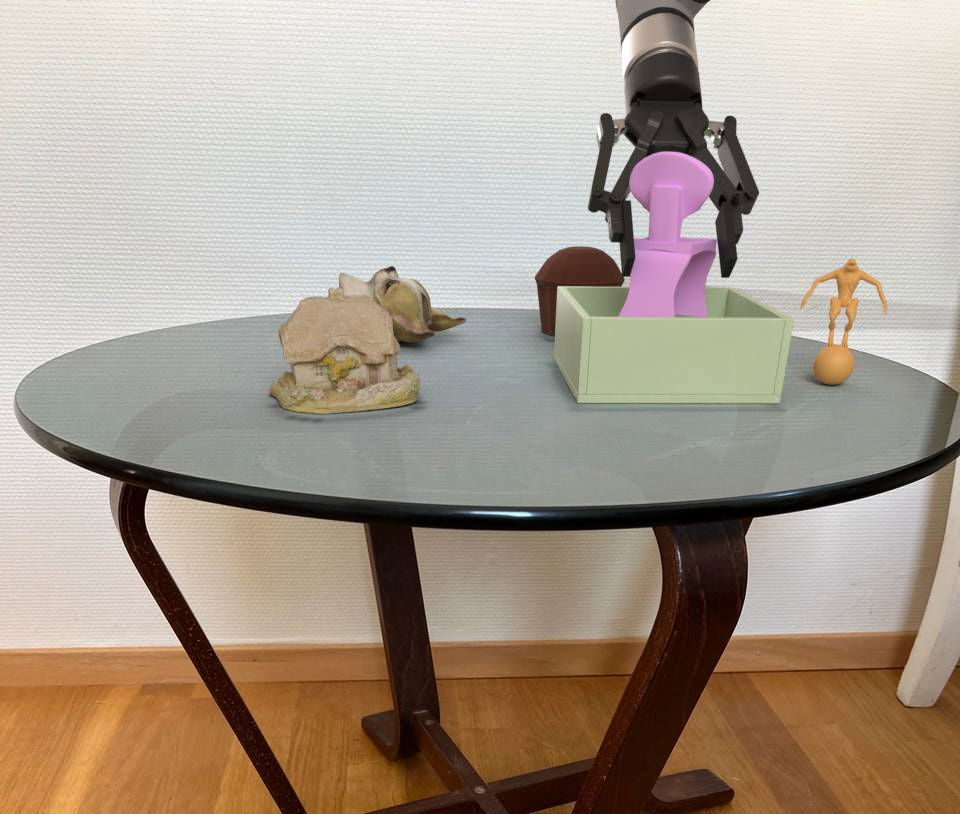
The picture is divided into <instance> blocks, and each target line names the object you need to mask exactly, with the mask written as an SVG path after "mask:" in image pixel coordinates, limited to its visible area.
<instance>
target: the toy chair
mask: <svg viewBox="0 0 960 814" xmlns="http://www.w3.org/2000/svg"><path fill="white" fill-rule="evenodd" d="M713 185H714V177H713V174H712V172H711V170H710V169H709V168H708V167H707V166H706V165H705V164H703V163H702V162H701V161H699V160H697V159H695V158H694V157H691V156H689V155H687V154H684V153H679V152H658V153H655V154H652V155H650V156H648V157H646V158H644V159H643V160H641V161H640V162H639V163H638V164H637V165H636V166H635V167H634V168H633V170H632V172H631V176H630V180H629V187H630V194H631V195H632V197H633V198H634V199H635V200H636V202H638V203H640V205H641V206H642V208H644V209H645V210H646V211H647V212H648V213H649V219H648V236H646V237H642V238H639V237H638V238H637V237H636V238H635V237H634V246H635V261H634V265H633V268H632V271H631V274H630V277H629V287H630V289H629V293H628V297H627V299H626V302H625V304H624V306H623V308H622V310H621V312H620V314H619V316H618V317H675V314H677V315H685V316H694V317H707V309H706V301H705V287H706V284H707V280H708V276H709V273H710V270H711V268H712V266H713V265H714V261H715V259H716V256H717V245H718V242H717V238H704V237H703V238H701V237H699V238H696V237H695V238H694V237H693V238H692V237H681V233H682V232H681V231H682V226H683V221H684V220H685V219H686V218H688V217H689V216H691V215H693V214H694V213H695V214H696V212H699V211H700V210H701V209H702V207H703V206H704V204H705V203H706V201H707V200H708V198H709V195H710V194H711V192H712V189H713Z"/></svg>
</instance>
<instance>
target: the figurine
mask: <svg viewBox="0 0 960 814" xmlns="http://www.w3.org/2000/svg"><path fill="white" fill-rule="evenodd" d="M833 279H835V280H836V287H837V292H838V294H837V297H836V296H832V297H831V298H830V299H829V311H828V317H829V321H830V322H828V325H827V327H828V329H829V334H828V338H827V343H826V345H825V346H824V347H823V348H822V349H821V350H819V352H818V353H817V354H816V355H815V358H814V360H813V363H812V364H813V365H812V370H813V373H814V376H815V377H816V379H817V380H818V381H820V383H822V384H824V385H829V386H834V385H839V384H842V383H843V382H845V381H846V380H848V379H849V378H850V376H851V375H852V374H853V372H854V369H855V356H854V355H853V352H852V350H850V348H849V344H848V341H849V340H848V339H849V332H850V331H851V330H852V329H853V323H854V321H855V320H856V317H857V314H858V313H857V308H858V305H859V302H860V300H859V298H858V297H854V298H853V295H854V293H855V291H856V288H857V287H858V285H859V284H860V281H864V282H866V283H868V284H870V285H872V286H874V287H876V291H877V293H878V297H879V299H880V301H881V303H882V306H881V309H883V314H884V315H887V313H888V303H887V300H886V295H885V294H884V291H883V287H882V283H881V282H880V281H879V280H878V279H876V278H875V277H873V276H872V275H869V274H868V272H866V271H864V270H862V269H861V268H859V266H858V265H857V261H856V259H855V258H852V257H851V258H849V259H848V260H847V261H846V263H844V265H843V266H841V267H840V268H837V269H834V270H832V271H830V272H829V273H826V274H823V275H820V276H819V277H816V279H814V280H813V282H812V284H811V285H810V288H809V289H808V290H807V291H806V293H805V295H804V297H803V298H802V301H801V303H800V310H803V309H805V305H807V304H808V300H807V299H809V298H810V297H811V296H812V294H813V293H814V291H815V289H816V288H817V287H818V284H820V283H824V282H827V281H830V280H833ZM844 308H845V316H846V317H847V319H848V322H847V323H845V325H844V332H843V335H842V341H841V343H840V344H836V343H834V337H835V328H836V322H835V320H836V319H837V317H838V316H839V315H840V314H841V311H842V309H844Z"/></svg>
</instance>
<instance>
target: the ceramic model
mask: <svg viewBox="0 0 960 814" xmlns="http://www.w3.org/2000/svg"><path fill="white" fill-rule="evenodd" d="M327 294H328V296H307V297H305V298H303V299H301V300H299V303H298V305H297V306H296V308H295V309H294V310H293V311H292V313H291V314H290V316H289V317H288V318H287V320H285V322H284V323H283V324H281V325H280V327H279V328H278V329H277V333H278V337H279V341H280V345H281V348H282V356H283V359H284V361H285V362H286V363H287V364H288V365H290V370H291V371H287V370H286V371H284V373H283V374H282V375H281V376H280V377H279V378H277V380H276V381H275V382H273V384H271V385H270V386H269V390H268V394H269V395H271V396H273V397H274V398H275V399H276V400H277V401H278V403H279V404H280V406H281V407H282V408H283V409H285V410H288V411H292V412H296V413H297V412H298V413H307V414H317V415H318V414H319V415H328V414H329V415H330V414H340V413H341V414H342V413H352V412H363V411H372V410H383V409H389V408H396V407H403V406H406V405H410V404H413V403H415V402H416V401H417V400H418V396H419V394H420V393H419V391H420V385H421V382H420V381H421V380H420V378H419V376H420V375H419V373H417V372H416V371H415V369H414V368H413V367H412V366H411V365H409V364H404V365H403V366H398V354H400V351H401V346H400V343H399V341H397V340H396V339H395V337H394V333H393V323H392V318H391V316H390V315H389V313H388V311H387V310H385V309H383V308H382V307H381V306H379V305H378V304H377V303H376V301H375V300H374V298H372V297H368V296H366V295H351V296H346V297H345V296H344V294H343V288H342V287H339V286H338V287H335V288H333V287H329V288H328V289H327Z"/></svg>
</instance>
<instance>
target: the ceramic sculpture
mask: <svg viewBox="0 0 960 814" xmlns="http://www.w3.org/2000/svg"><path fill="white" fill-rule="evenodd" d="M339 287H342V288H343V294H344V296H345V297H346V296H351V295H366V296H368V297H372V298H374V300H375V301H376V303H377V304H378V305H379V306H381V307H382V308H383V309H385V310H387V311H388V313H389V315H390V316H391V318H392V323H393V333H394V337H395V339H396V340H397V342H402V343H403V342H405V343H419V342H421V341H424V340H427V339H431V338H432V337H434V336H435V333H437V332H442V331H443V332H444V331H447V330H449V329H453V328H455V327H457V326H460V325H463V324H465V323H466V322H467V318H465V317H462V316H460V317H451V316H450V315H447V314H445V313H443V311H441V310H440V309H438V308H435V307H432V304H431V297H430V295H429V293H428V291H427V290H426V288H425V287H424V286H423V284H422V283H421V282H419V280H417V279H413V278H408V277H407V278H403V277H399V274H398V271H397V268H396V267H395V266H393V265H390V266H388V267H385V268H381V269H379V270H377V271H376V272H375V273H373V275H372V277H371V278H370V279H369V280H368V281H365V280H362V279H361V278H359V277H356V276H352V275H348V274H347V273H345V272H340V273H339V276H338V288H339Z"/></svg>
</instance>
